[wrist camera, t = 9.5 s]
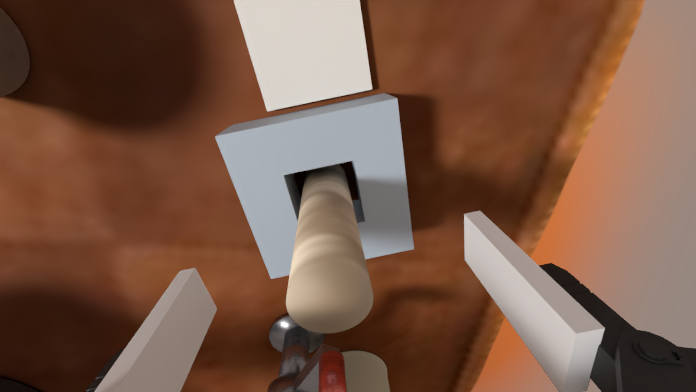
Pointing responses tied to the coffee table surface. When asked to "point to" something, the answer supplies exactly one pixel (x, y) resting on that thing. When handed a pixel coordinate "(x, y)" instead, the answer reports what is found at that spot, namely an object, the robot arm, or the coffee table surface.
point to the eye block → (314, 152)
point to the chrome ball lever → (316, 374)
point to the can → (365, 372)
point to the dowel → (328, 257)
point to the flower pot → (12, 56)
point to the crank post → (293, 344)
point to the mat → (305, 49)
